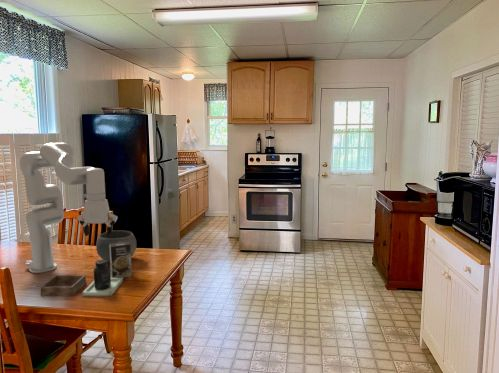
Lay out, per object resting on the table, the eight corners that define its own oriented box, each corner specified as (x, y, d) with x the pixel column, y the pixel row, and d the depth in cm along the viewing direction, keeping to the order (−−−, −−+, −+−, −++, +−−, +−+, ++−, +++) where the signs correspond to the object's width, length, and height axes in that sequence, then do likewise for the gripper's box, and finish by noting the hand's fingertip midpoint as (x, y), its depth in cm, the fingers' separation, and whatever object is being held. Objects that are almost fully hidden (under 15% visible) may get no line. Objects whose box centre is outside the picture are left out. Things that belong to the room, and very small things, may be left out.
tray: (82, 296, 163) (82, 292, 163) (97, 281, 179) (96, 277, 179) (110, 296, 163) (110, 292, 163) (122, 281, 179) (122, 277, 179)
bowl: (111, 270, 192) (110, 242, 190) (89, 262, 205) (87, 235, 202) (144, 259, 208) (143, 233, 206) (122, 252, 221) (120, 227, 218)
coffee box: (112, 279, 181) (110, 246, 178) (110, 275, 186) (108, 243, 184) (132, 276, 185) (130, 244, 183) (129, 272, 191) (128, 240, 188)
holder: (40, 296, 163) (40, 287, 162) (56, 283, 177) (56, 275, 176) (72, 296, 163) (72, 287, 163) (86, 283, 177) (85, 275, 176)
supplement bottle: (112, 283, 175) (111, 258, 173) (109, 290, 168) (107, 263, 166) (97, 284, 174) (95, 259, 172) (92, 290, 167) (91, 264, 165)
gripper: (72, 198, 162) (74, 237, 164) (113, 198, 162) (115, 237, 164) (79, 195, 169) (82, 232, 172) (119, 195, 169) (120, 232, 172)
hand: (98, 235), depth 168 cm, fingers open, 9 cm apart
